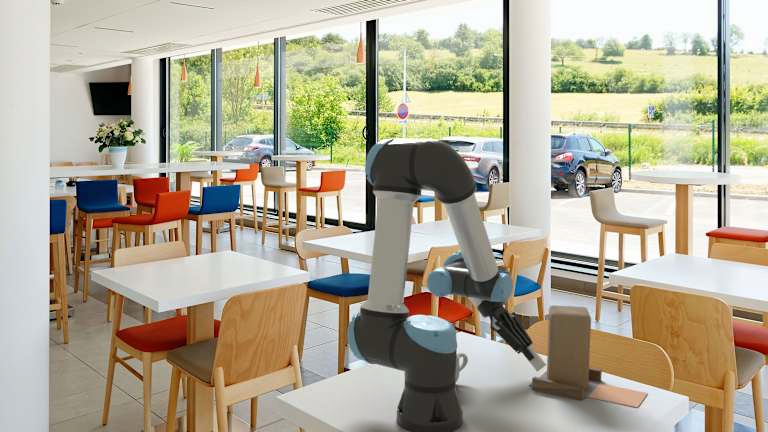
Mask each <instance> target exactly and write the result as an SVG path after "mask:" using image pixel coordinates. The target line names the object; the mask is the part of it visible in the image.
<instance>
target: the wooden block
mask: <svg viewBox="0 0 768 432" xmlns="http://www.w3.org/2000/svg"><path fill="white" fill-rule="evenodd" d="M547 326H548V329H547V330H548V332H547V354H546V355H547V356H546V357H547V358H546V359H547V360H546V361H547V362H546V371H547V379H548V380H553V381H558V382H562V383H567V384H572V385H577V386H582V387H584V391H586V390H587V389H588V380H589V367H590V354H591V352H590V351H591V350H590V349H591V332H592V318H591V315H590V313H589V310H588V308H587V307H586V306H572V305H571V306H570V305H550V306H549V308H548V325H547Z"/></svg>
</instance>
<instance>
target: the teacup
mask: <svg viewBox="0 0 768 432" xmlns="http://www.w3.org/2000/svg"><path fill="white" fill-rule="evenodd" d="M461 358H462V362H461V364H460V359H461ZM468 358H469V357H468V355H466V353H463V352H459V353H456V383H457V381H458V380H459V377H460V372H461V371H463V370H464V369H465V367H466V366H467V365H468V362H469V359H468Z"/></svg>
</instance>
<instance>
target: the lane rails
mask: <svg viewBox="0 0 768 432" xmlns="http://www.w3.org/2000/svg"><path fill="white" fill-rule="evenodd" d="M602 372H603V369H600V368H596V367H590V366H589V380H593V381H598V382H601V381H602V374H603V373H602ZM539 377H540V376H533V377H532V378H531V379H532V382H531V383H532V386H531V390H532V391H537V392H542V393H546V394H550V395H555V396H559V397H564V398H569V399H573V400H578V401H583V400H585V398H584V387H582V386H577V385H572V384H567V383H562V382H558V381H553V380H548V379H543V378H539Z"/></svg>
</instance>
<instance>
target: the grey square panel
mask: <svg viewBox="0 0 768 432" xmlns="http://www.w3.org/2000/svg"><path fill="white" fill-rule="evenodd" d="M538 377H539V378H543V379H547V370H545V372H544V373H542V375H540V376H538ZM600 383H601V384H602V382H601V381H600V382H598V381H593V380H588V389H587V390H586V391H584V399H587V398H589V397H588V396H589V395H590V394H591V392H592V391H593V390H594V389H595V388H596V387H597V386H598V385H599V384H600ZM528 387H532V382H531V383H530V384H529V385H528Z"/></svg>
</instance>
